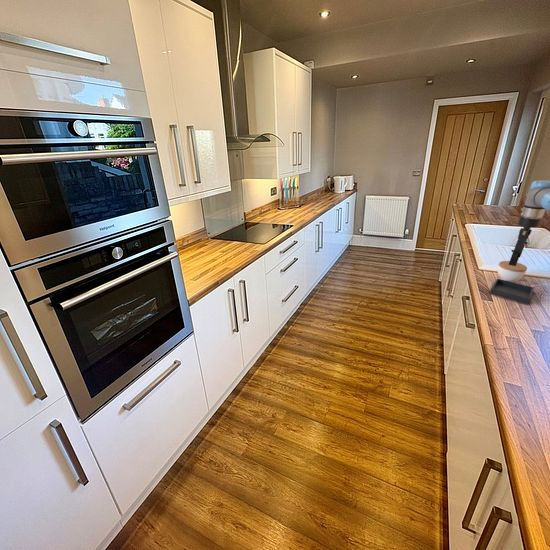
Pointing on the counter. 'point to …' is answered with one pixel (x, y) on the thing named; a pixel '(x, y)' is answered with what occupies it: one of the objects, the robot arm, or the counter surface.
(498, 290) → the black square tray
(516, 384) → the counter surface
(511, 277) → the trinket box
